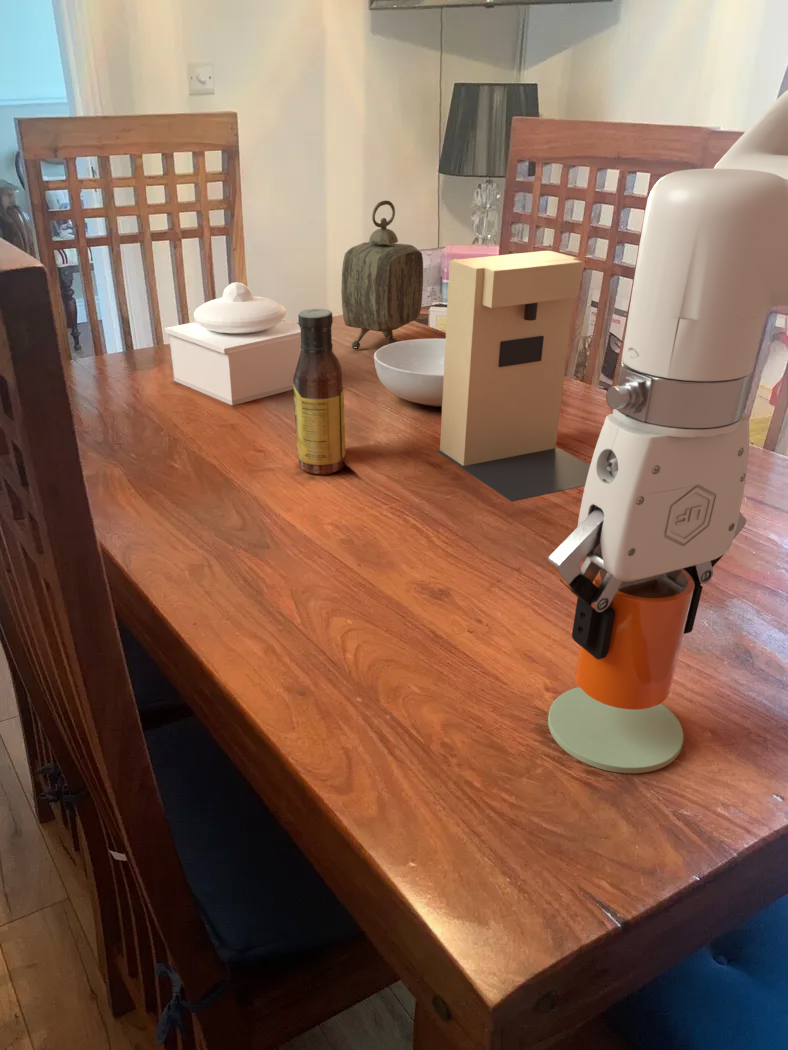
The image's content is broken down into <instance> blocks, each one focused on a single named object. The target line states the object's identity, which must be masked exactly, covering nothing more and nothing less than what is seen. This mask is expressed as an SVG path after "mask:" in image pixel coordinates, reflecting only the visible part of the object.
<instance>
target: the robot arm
mask: <svg viewBox="0 0 788 1050" xmlns="http://www.w3.org/2000/svg"><path fill="white" fill-rule="evenodd" d="M636 258H637V259H636V265H635V271H634V278H633V283H632V291H631V297H630V301H629V302H630V303H629V309H628V314H627V315H628V316H627V323H626V329H625V335H624V342H623V346H622V347H623V348H622V353H621V354H622V355H621V360H620V365H619V372H618V377H617V384H616V386H614V385H613V386H610V387H609V388H608V389H607V391H606V394H605V400H606V404H607V405H608V407H609V408H610V409H612V413H610V414H608V415H606V416H605V419H604V422H603V425H602V426H601V427H602V428H601V430H600V433H599V435H598V438H597V441H596V445H595V448H594V451H593V454H592V458H591V460H590V461H591V462H590V463H589V464H590V468H589V472H588V476H587V480H586V484H585V486H584V488H583V493H582V497H581V502H580V508H579V514H578V520H577V526H576V528H575V529H574V530H573V531H572V532H571V533H570V534H568V536H567V537H566V538H565V539H564V540H563V541H562V542H561V543H560V545H558V546H557V548H556V549H554V550H553V552H552V553H551V554H550V555H548V557H547V558H546V559H547V560H546V564H547V566H548V567H549V569H550V570H551V571H552V572H553V573H554V574H555V576H556V577H557V578H559V581H560V583H562V584H563V586H565V587H566V588H567V589H568V590H569V591H570V592H571V594H573V595H575V597H577V600H576V606H575V612H574V619H573V626H572V632H571V638H572V640H573V642H575V643H576V644H577V645H579V647H580V646H581V647H583V648H584V649H585V650H586V651H588V652H589V653H590V654H591V655H592V656H594V657H595V658H596V659H602V658H605V657H606V656H607V654H608V650H609V645H610V639H611V634H612V628H613V623H614V618H615V611H614V609H612V608H611V607H610V606H609V605H610V603H611V602H612V600H613V598H614V596H615V595H616V593H617V591H618V589H619V588H620V586H621V584H622V583H623V581H625V582H628V581H635V580H640V579H644V578H648V577H652V576H656V575H660V574H664V573H668V572H672V571H675V570H679V569H684V570H686V571H687V572H688V573H689V574H690V575H691V577H692V578H693V580H694V584H695V587H694V591H693V596H692V600H691V604H690V608H689V613H688V617H687V621H686V625H685V630H684V634H683V635H686V634H689V633H691V632H692V631H693V629H694V625H695V620H696V616H697V612H698V608H699V603H700V601H701V596H702V591H703V588H704V586H702V585H705V584H707V583H708V582H710V581H711V580H712V578H713V577H714V570H713V567H715V566H716V565H717V563H718V562H719V561H720V560H721V559H722V557H723V556H724V555H726V553H727V552H728V551H730V549H731V547H732V545H733V541H734V540H735V538H737V537H738V535H739V534H740V532H741V531H742V530H743V529H744V528H745V526H746V524H747V518H746V517H745V516H744V515H743V514H742V512H741V509H742V502H743V497H744V492H745V487H746V486H745V485H746V479H747V471H748V464H749V453H750V452H749V451H750V417H749V415H748V414H747V413H746V412H744V410H745V405H746V401H747V396H748V393H749V390H750V389H749V388H750V384H751V380H752V376H753V371H754V368H755V363H756V359H757V355H758V351H759V347H760V343H761V339H762V334H763V330H764V326H765V323H766V322H765V321H766V317H767V313H768V312H769V310H770V309H772V308H774V307H778V306H779V307H788V89H787V90H786V91H785V92H783V93H782V94H781V95H780V96H779V97H778V98H777V99H776V100H774V102H773V103H772V104H770V105H769V106H768V107H767V109H766V110H764V111H763V113H762V114H761V115H760V116H758V117H757V119H756V120H755V121H754V122H753V123H752V124H751V125H750V126H749V127H748V128H747V129H746V130H745V132H743V134H741V136H740V137H739V138H738V139H737V140H736V141H735V142H734V144H732V145H731V147H730V148H729V149H728V150H727V152H725V154H724V155H722V157H721V158H720V159H719V160H718V162H717V163H716V164H715V166H714V167H713V168H692V169H690V168H689V169H683V170H677V171H676V170H675V171H673V172H670V173H667V174H665V175H664V176H662V177H661V178H659V179H658V180H657V182H656V183H655V184H654V185H653V187H652V189H651V190H650V192H649V195H648V197H647V200H646V206H645V210H644V215H643V221H642V227H641V234H640V239H639V246H638V252H637V257H636ZM584 559H585V560H584ZM582 561H583V563H582ZM581 563H582V565H581ZM580 566H581V567H580ZM600 569H603V570H604V571H606V572H607V574H606V576H605V578H604V579H603V581H602V583H601V585H600V586H599V588H597V587H596V586H595V585H594V584H593V581H594V579H595V578H596V576H597V574H598V572H599V571H600Z"/></svg>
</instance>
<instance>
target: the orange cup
mask: <svg viewBox="0 0 788 1050" xmlns="http://www.w3.org/2000/svg"><path fill="white" fill-rule="evenodd" d="M606 574H607V572H606V571H604V570H603V569H600V571H599V572H598V574H597V576H596V578H595V579H594V581H593V584H594V585H595V586H596V587H597V588H599V586H600V585H601V583H602V581H603V579H604V578H605V576H606ZM694 587H695V584H694V580H693V578H692V577H691V575H690V574H689V573H688V572H687V571H686V570H684V569H679V570H675V571H672V572H668V573H664V574H660V575H656V576H652V577H648V578H644V579H640V580H635V581H628V582H625V581H623V583H622V584H621V586H620V588H619V589H618V591H617V593H616V595H615V596H614V598H613V600H612V602H611V603H610V605H609V606H610V607H611V608H612V609H614V611H615V618H614V623H613V628H612V634H611V639H610V645H609V650H608V654H607V656H606V657H605V658H602V659H596V658H595V657H594V656H592V655H591V654H590V653H589V652H588V651H586V650H585V649H584V648H583V647H581V646H580V645H579V649H578V654H577V660H576V667H575V674H574V678H575V681H576V683H577V685H578V687H580V688H581V689H582V690H583V691H584V692H585V693H586V694H587V695H588V696H590V697H591V698H593V699H595V700H597V701H599V702H601V703H603V704H606V705H609V706H612V707H616V708H622V709H631V710H638V709H647V708H651V707H654V706H657V705H659V704H663V703H664V702H665V701H666V700H667V698H669V696H670V694H671V693H670V692H671V689H672V685H673V680H674V675H675V672H676V668H677V663H678V659H679V656H680V655H679V654H680V651H681V645H682V642H683V638H684V635H685V634H684V630H685V625H686V621H687V617H688V613H689V608H690V604H691V600H692V596H693V591H694Z"/></svg>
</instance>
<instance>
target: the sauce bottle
mask: <svg viewBox="0 0 788 1050" xmlns="http://www.w3.org/2000/svg"><path fill="white" fill-rule="evenodd" d="M333 319H334V318H333V312H332V311H331V310H330V309H327V308H309V309H304V310H301V311H299V312H298V321H297V322H298V324H299V326H300V329H301V352H300V356H299V359H298V363H297V367H296V370H295V374H294V378H293V401H294V403H293V405H294V406H293V407H294V420H295V431H296V432H295V435H296V450H297V451H296V452H297V458H298V465H299V467H300V469H301V470H302V471H304V472H306V473H309V474H313V475H320V476H321V475H322V476H325V475H330V474H333V473H338V472H339V471H341V470H343V468H344V467H345V462H344V459H345V456H346V453H347V449H346V419H345V388H344V384H343V383H344V379H343V368H342V364H341V363H340V361H339V358H338V356H337V355H336V354H335V353H334V351H333V346H334V345H333V338H332V337H333V336H332V326H333V323H334V322H333V321H334V320H333Z"/></svg>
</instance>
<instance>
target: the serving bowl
mask: <svg viewBox="0 0 788 1050" xmlns="http://www.w3.org/2000/svg"><path fill="white" fill-rule="evenodd" d="M445 340H446V338H438V337H437V338H417V339H415V338H414V339H407V340H406V339H405V340H401V341H397V342H395V343H392V344H386V345H383V346H381V347H380V348H378V349H376V351H375V352H374V354H373V361H374V368H375V371H376V374H377V377H378V379H379V381H380V382H381V384H382V385H383V386H384V387H385V389H386V390H387V391H389V392H390V393H391V394H393V395H394V396H396V397H398V398H400V399H403V400H405V401H408V402H411V403H415V404H419V405H423V406H428V407H434V408H435V407H436V408H442V399H443V380H444V360H445Z"/></svg>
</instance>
